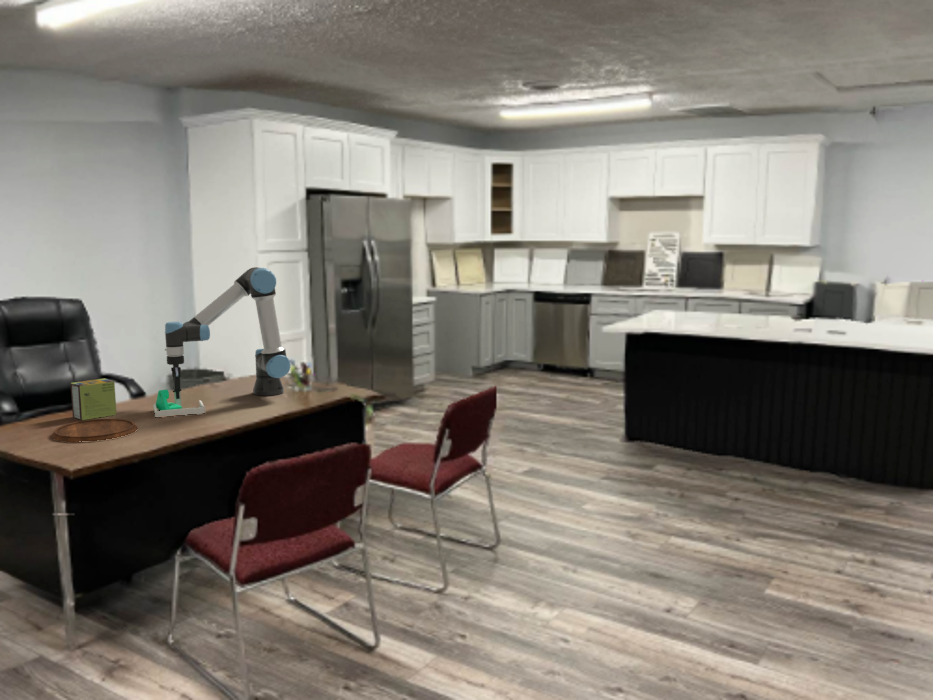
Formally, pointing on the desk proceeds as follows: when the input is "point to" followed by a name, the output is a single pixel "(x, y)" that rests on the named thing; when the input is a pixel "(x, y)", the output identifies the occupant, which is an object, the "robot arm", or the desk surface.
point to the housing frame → (180, 411)
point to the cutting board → (94, 430)
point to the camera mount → (165, 401)
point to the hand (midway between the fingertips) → (178, 405)
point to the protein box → (93, 399)
